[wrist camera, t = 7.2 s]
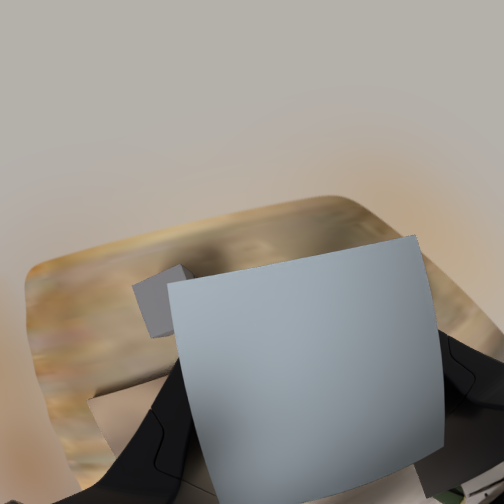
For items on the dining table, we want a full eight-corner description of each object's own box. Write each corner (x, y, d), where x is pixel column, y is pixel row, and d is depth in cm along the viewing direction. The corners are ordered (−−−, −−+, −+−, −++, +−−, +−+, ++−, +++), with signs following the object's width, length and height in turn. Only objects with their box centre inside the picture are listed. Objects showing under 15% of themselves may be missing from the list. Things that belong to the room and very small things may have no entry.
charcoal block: (211, 318, 22) (202, 317, 18) (168, 336, 21) (151, 338, 17) (192, 273, 23) (180, 263, 19) (151, 292, 22) (131, 285, 18)
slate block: (323, 371, 14) (443, 446, 3) (244, 389, 14) (223, 513, 3) (308, 295, 15) (415, 234, 4) (229, 311, 15) (166, 283, 4)
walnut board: (264, 473, 18) (264, 480, 17) (151, 497, 17) (147, 503, 16) (203, 361, 21) (201, 363, 20) (92, 397, 20) (86, 400, 18)
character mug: (451, 435, 18) (531, 468, 5) (484, 435, 17) (555, 457, 4) (406, 512, 15) (458, 565, 3) (443, 506, 15) (497, 545, 2)
